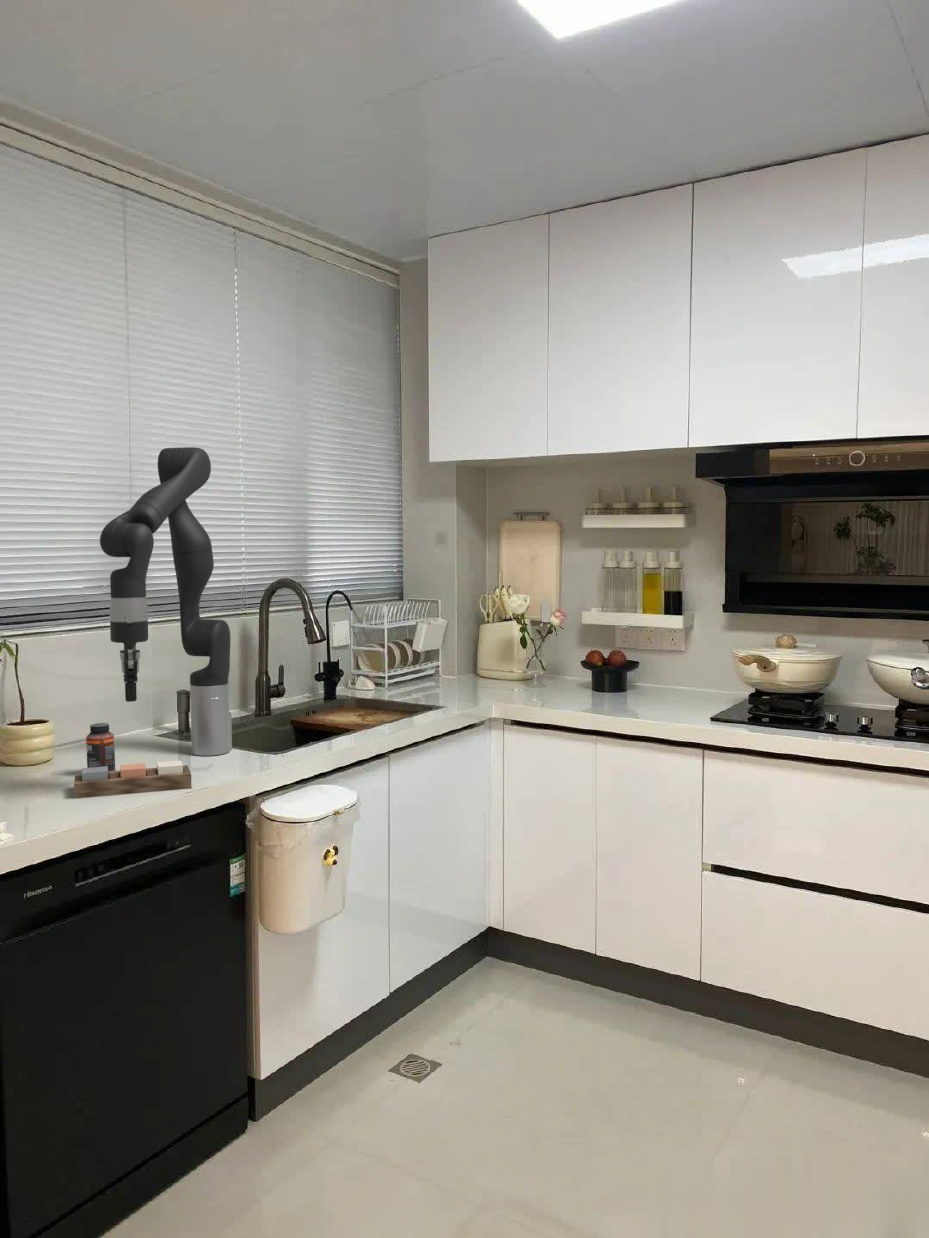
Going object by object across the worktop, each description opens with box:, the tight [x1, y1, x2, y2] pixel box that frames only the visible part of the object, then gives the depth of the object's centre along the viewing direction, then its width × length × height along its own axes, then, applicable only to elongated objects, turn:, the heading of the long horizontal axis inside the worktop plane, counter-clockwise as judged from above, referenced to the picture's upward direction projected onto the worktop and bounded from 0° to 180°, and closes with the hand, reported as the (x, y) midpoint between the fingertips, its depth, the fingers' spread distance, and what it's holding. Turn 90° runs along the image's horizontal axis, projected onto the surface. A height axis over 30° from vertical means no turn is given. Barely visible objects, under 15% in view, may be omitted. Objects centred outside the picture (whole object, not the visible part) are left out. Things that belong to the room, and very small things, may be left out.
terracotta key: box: [119, 762, 146, 778], centre depth 201 cm, size 5×5×2 cm
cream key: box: [156, 760, 184, 775], centre depth 204 cm, size 5×5×2 cm
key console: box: [73, 764, 192, 799], centre depth 201 cm, size 23×9×3 cm, turn 111°
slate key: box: [81, 766, 108, 781], centre depth 198 cm, size 5×5×2 cm
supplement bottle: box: [85, 722, 116, 771], centre depth 214 cm, size 6×6×11 cm
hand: (131, 700), depth 200 cm, fingers closed
